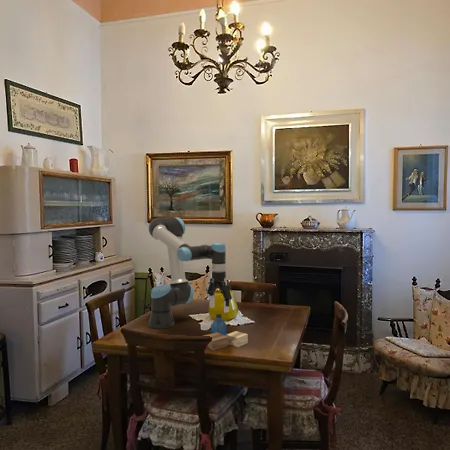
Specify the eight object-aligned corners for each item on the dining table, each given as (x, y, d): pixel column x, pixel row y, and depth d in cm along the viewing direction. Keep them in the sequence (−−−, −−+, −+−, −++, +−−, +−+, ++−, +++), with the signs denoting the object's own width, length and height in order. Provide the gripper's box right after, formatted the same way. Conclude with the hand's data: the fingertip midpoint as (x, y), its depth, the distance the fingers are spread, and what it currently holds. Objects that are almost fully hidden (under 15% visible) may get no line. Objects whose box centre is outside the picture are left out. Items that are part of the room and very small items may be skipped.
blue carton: (217, 338, 231) (217, 317, 231) (211, 336, 236) (211, 314, 236) (226, 336, 235) (226, 315, 234) (220, 333, 240) (220, 312, 239)
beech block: (226, 344, 224) (226, 334, 224) (236, 340, 230) (236, 331, 230) (237, 347, 219) (237, 337, 218) (247, 343, 225) (247, 334, 224)
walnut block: (201, 345, 222) (201, 336, 222) (217, 341, 228) (217, 332, 228) (213, 350, 214) (213, 341, 214) (228, 346, 220) (228, 337, 220)
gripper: (200, 269, 241) (201, 306, 243) (226, 274, 221) (227, 315, 222) (211, 267, 246) (212, 304, 247) (238, 273, 226) (238, 313, 227)
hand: (219, 309), depth 235 cm, fingers open, 13 cm apart
